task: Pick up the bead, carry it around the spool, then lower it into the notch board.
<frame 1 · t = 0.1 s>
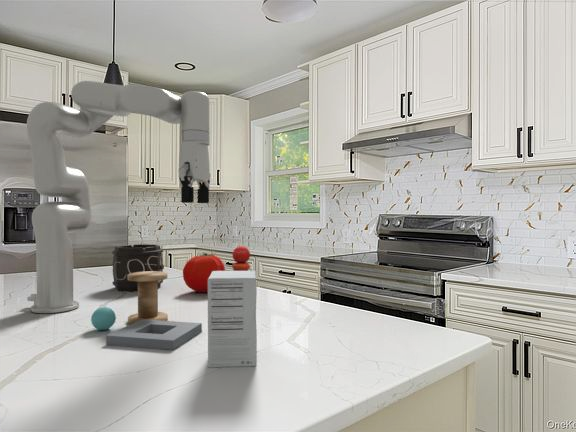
hand: (195, 202, 116), 31 cm above the counter, fingers open, 9 cm apart
notch board: (156, 337, 99), on the counter
bead: (103, 329, 105), on the counter
black lettered canister: (139, 288, 161), on the counter
tomato: (204, 292, 153), on the counter
stacking toy: (240, 311, 125), on the counter
supplement box: (233, 359, 85), on the counter
spool: (148, 320, 114), on the counter
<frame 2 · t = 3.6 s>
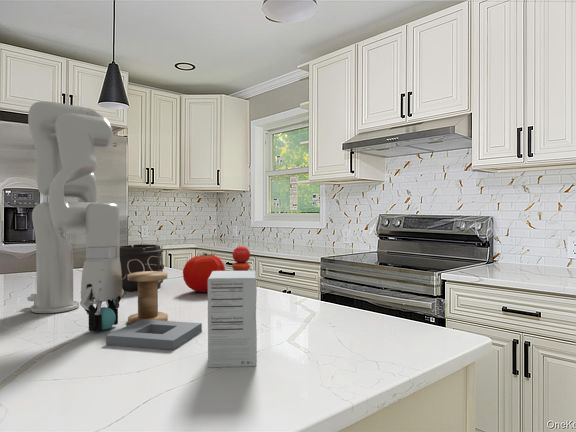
hand: (103, 326, 105), 1 cm above the counter, fingers closed on bead, 5 cm apart
bead: (103, 329, 105), on the counter, touching gripper
everything else where it was.
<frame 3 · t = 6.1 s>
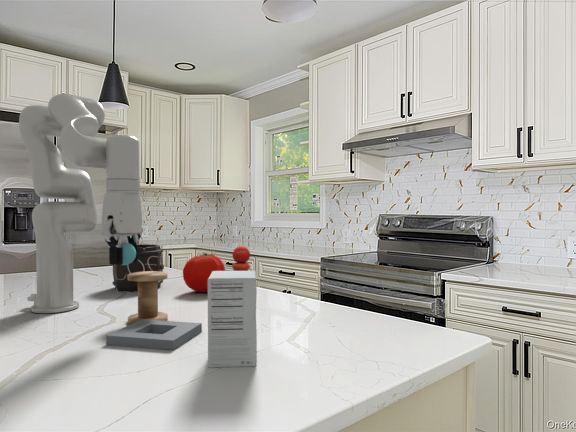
hand: (124, 262, 104), 17 cm above the counter, fingers closed on bead, 5 cm apart
bead: (124, 265, 104), point 16 cm above the counter, touching gripper
everything else where it was.
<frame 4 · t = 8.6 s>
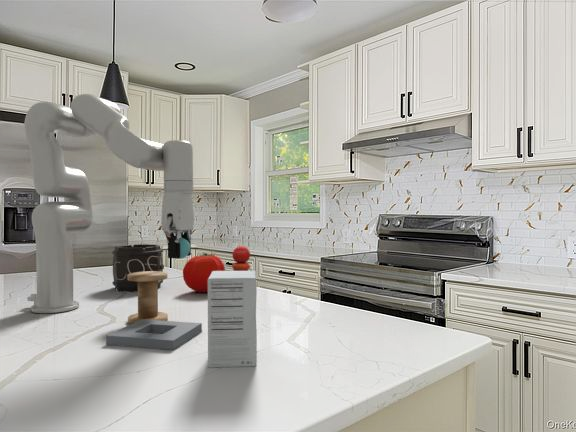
hand: (179, 256, 114), 17 cm above the counter, fingers closed on bead, 5 cm apart
bead: (179, 258, 114), point 16 cm above the counter, touching gripper
everything else where it was.
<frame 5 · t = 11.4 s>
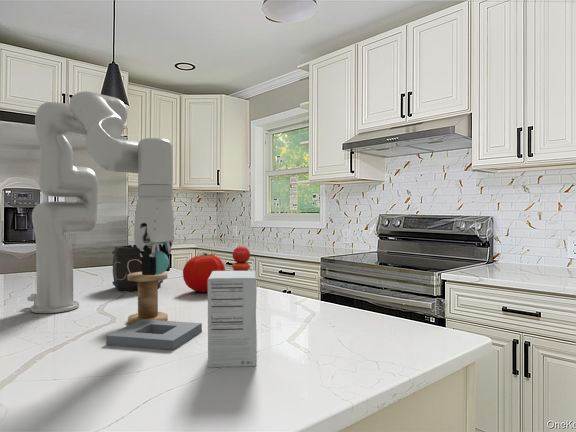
hand: (156, 272, 98), 15 cm above the counter, fingers closed on bead, 5 cm apart
bead: (156, 274, 98), point 14 cm above the counter, touching gripper
everything else where it was.
when the fingers open (3 cm above the counter, at t = 13.9 s): bead drops 2 cm, resting in notch board.
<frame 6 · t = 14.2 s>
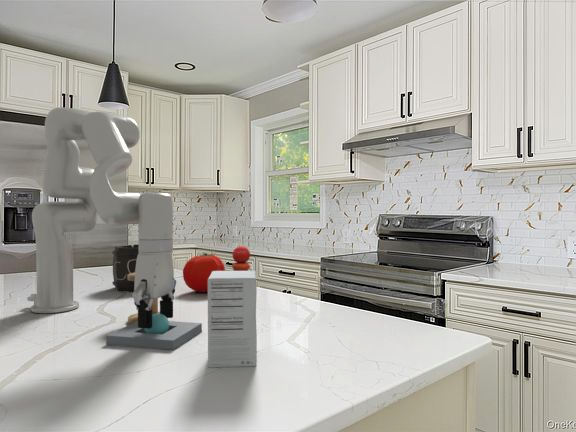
hand: (156, 322, 99), 4 cm above the counter, fingers open, 8 cm apart
bead: (156, 337, 99), resting in notch board
everything else where it was.
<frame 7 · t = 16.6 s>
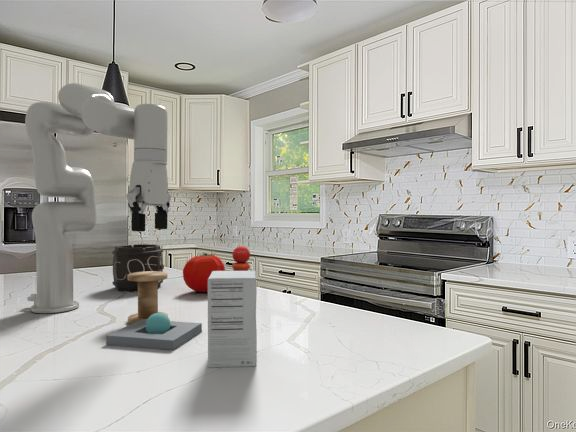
hand: (150, 230, 103), 24 cm above the counter, fingers open, 9 cm apart
bead: (156, 337, 99), resting in notch board, tilted 15°
everything else where it was.
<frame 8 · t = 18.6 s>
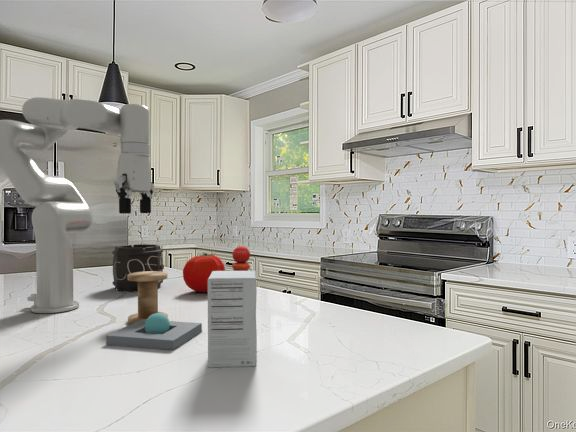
hand: (135, 213, 119), 28 cm above the counter, fingers open, 9 cm apart
bead: (156, 337, 99), resting in notch board, tilted 8°
everything else where it was.
at the end: bead 0.0 cm off-centre on the notch board, point 0.0 cm above the notch board's base; the gripper is holding nothing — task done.
